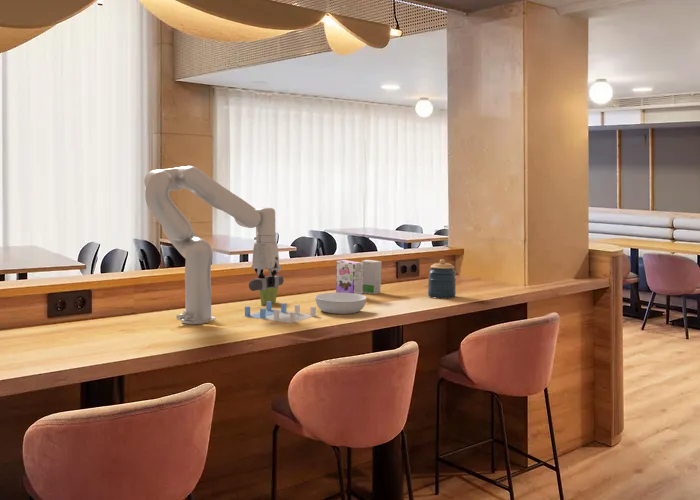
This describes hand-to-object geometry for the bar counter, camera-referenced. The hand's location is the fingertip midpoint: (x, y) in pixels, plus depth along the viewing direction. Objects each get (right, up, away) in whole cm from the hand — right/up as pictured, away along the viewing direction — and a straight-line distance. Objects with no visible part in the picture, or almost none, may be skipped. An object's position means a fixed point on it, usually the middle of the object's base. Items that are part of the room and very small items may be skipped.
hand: (266, 285), depth 272 cm
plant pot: (-3, -10, +27) cm, 29 cm away
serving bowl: (+29, -12, +9) cm, 33 cm away
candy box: (+32, -8, +50) cm, 60 cm away
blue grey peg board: (+6, -13, -2) cm, 14 cm away
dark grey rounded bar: (0, -1, 0) cm, 1 cm away
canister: (+76, -8, +52) cm, 92 cm away
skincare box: (+43, -7, +61) cm, 75 cm away
